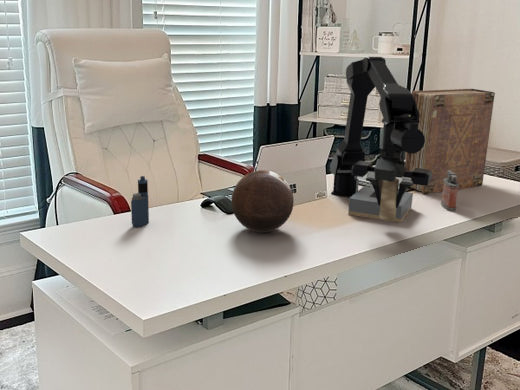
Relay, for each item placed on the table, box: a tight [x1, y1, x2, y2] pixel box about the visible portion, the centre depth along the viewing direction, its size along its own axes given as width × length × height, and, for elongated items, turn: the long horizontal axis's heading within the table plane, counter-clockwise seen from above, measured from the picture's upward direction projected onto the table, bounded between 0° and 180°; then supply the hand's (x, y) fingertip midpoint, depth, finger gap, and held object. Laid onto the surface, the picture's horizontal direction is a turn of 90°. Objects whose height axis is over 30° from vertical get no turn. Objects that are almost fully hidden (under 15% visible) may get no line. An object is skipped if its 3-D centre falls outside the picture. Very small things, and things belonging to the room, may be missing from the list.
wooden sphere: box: [231, 169, 295, 233], centre depth 149 cm, size 15×15×15 cm
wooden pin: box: [379, 177, 400, 222], centre depth 152 cm, size 4×4×10 cm
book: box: [404, 88, 496, 195], centre depth 191 cm, size 25×9×30 cm, turn 118°
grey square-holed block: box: [347, 185, 414, 224], centre depth 168 cm, size 14×14×4 cm
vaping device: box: [130, 175, 150, 228], centre depth 151 cm, size 3×5×12 cm, turn 155°
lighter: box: [440, 171, 459, 212], centre depth 173 cm, size 8×3×10 cm, turn 179°
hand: (388, 206), depth 152 cm, fingers closed on wooden pin, 4 cm apart
